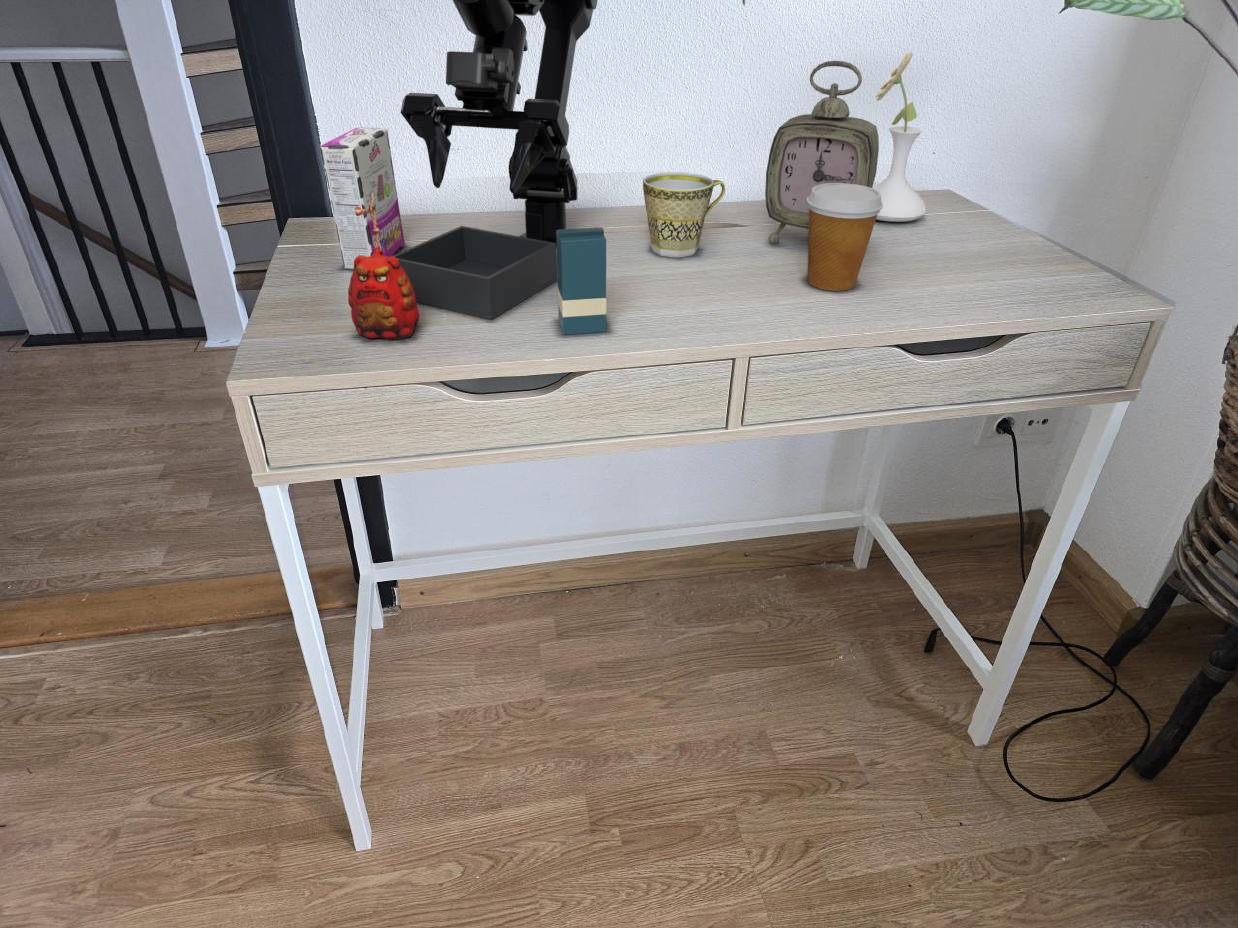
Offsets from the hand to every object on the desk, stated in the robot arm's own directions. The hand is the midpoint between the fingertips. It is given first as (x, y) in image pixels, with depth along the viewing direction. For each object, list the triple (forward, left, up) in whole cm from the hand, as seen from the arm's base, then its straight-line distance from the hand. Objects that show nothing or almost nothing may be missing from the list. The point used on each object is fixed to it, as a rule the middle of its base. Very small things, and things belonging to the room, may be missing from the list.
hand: (473, 189), depth 93 cm
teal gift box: (0, +14, -14) cm, 20 cm away
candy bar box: (-7, -24, -14) cm, 29 cm away
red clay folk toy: (+12, -5, -14) cm, 19 cm away
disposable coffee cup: (-29, +36, -14) cm, 49 cm away
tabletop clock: (-44, +29, -14) cm, 55 cm away
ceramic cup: (-32, +13, -14) cm, 38 cm away
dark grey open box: (-4, -4, -14) cm, 15 cm away
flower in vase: (-63, +36, -14) cm, 74 cm away
